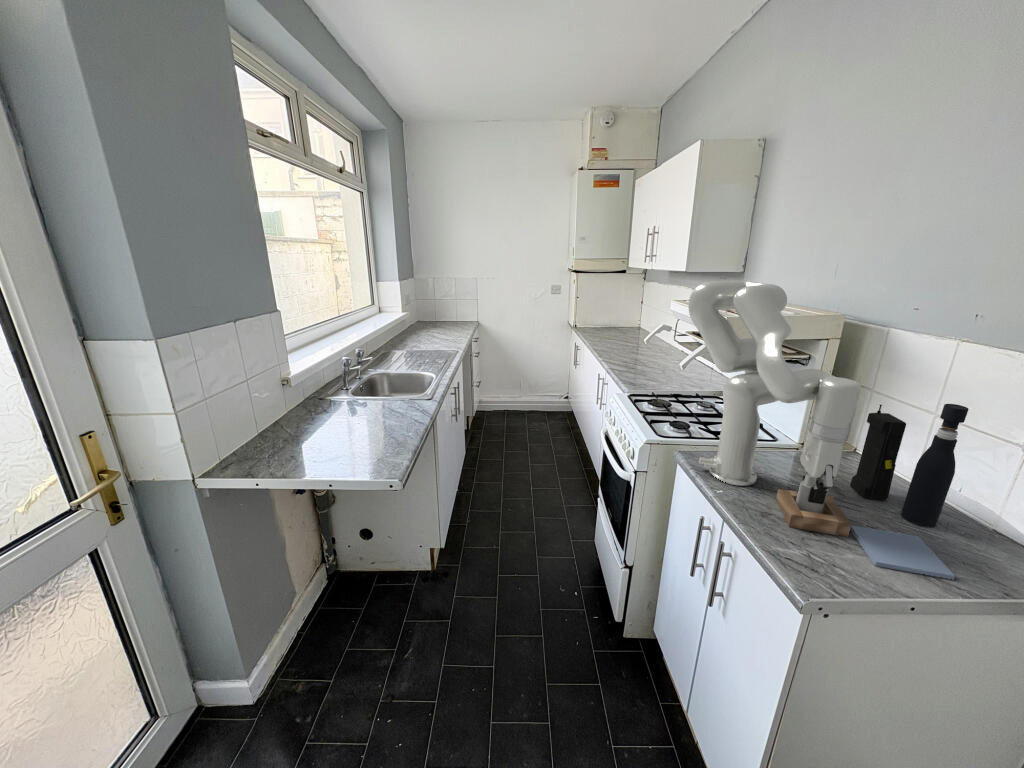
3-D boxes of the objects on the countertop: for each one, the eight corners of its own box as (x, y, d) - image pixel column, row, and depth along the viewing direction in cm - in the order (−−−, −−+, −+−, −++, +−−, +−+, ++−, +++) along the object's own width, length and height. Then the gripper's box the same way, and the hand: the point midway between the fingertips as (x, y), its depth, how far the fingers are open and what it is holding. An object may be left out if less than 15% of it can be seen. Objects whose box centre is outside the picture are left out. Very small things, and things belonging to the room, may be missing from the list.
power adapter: (797, 503, 106) (807, 462, 103) (822, 513, 103) (833, 470, 99) (793, 508, 104) (803, 467, 101) (818, 518, 101) (830, 475, 97)
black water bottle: (893, 512, 105) (928, 401, 96) (917, 511, 105) (954, 401, 96) (918, 528, 99) (958, 411, 90) (943, 527, 99) (986, 411, 90)
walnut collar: (788, 526, 100) (791, 514, 99) (775, 500, 111) (778, 488, 109) (847, 536, 96) (851, 523, 95) (828, 508, 107) (831, 496, 106)
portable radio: (891, 503, 108) (918, 415, 101) (865, 501, 110) (889, 414, 102) (873, 487, 116) (896, 404, 108) (848, 485, 117) (870, 403, 110)
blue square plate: (875, 565, 87) (876, 561, 87) (849, 528, 99) (850, 525, 98) (953, 580, 83) (955, 575, 83) (916, 539, 95) (918, 536, 94)
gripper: (799, 414, 105) (784, 476, 111) (823, 442, 90) (804, 513, 96) (833, 418, 103) (817, 481, 109) (864, 447, 88) (843, 519, 93)
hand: (811, 495), depth 102 cm, fingers closed on power adapter, 4 cm apart
